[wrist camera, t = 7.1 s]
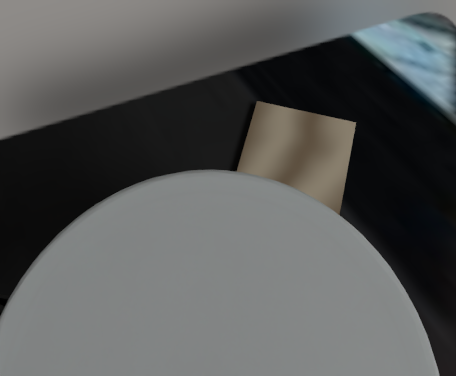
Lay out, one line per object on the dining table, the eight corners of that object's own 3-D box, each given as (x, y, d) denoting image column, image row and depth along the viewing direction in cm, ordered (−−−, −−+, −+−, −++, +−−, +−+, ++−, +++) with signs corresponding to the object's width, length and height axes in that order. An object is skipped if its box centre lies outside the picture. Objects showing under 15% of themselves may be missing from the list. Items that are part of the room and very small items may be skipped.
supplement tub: (132, 313, 19) (-157, 446, 5) (213, 205, 21) (159, 87, 7) (246, 411, 18) (271, 1026, 3) (323, 284, 19) (551, 337, 5)
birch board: (231, 193, 29) (230, 191, 28) (256, 105, 32) (257, 101, 31) (335, 221, 28) (338, 219, 27) (353, 126, 31) (356, 122, 30)
